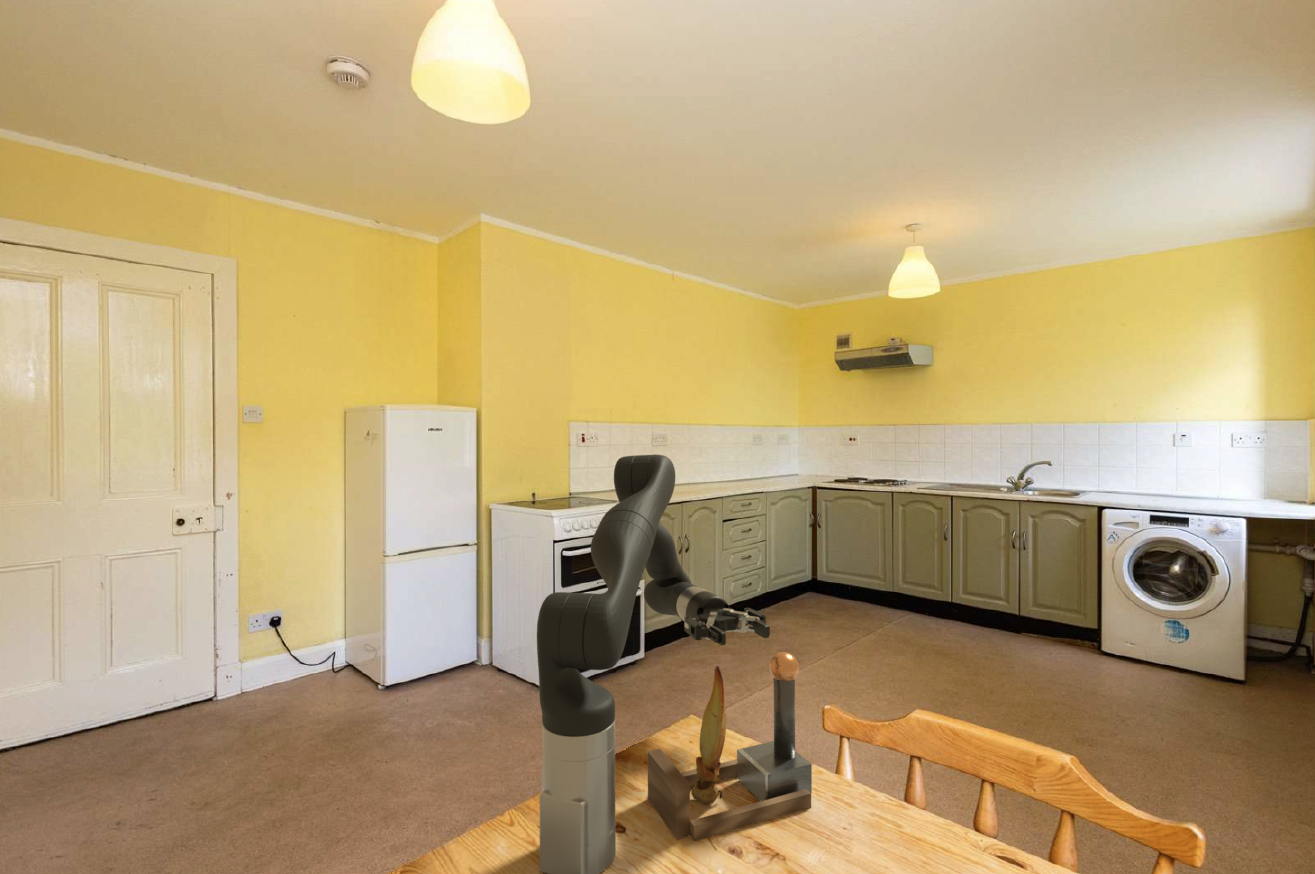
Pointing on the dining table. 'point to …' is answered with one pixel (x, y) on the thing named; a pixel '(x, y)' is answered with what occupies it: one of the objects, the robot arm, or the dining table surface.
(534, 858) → the dining table surface
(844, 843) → the dining table surface
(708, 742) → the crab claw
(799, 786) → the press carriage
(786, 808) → the frame
